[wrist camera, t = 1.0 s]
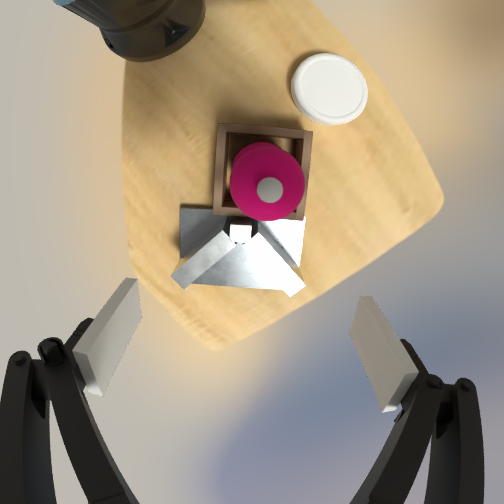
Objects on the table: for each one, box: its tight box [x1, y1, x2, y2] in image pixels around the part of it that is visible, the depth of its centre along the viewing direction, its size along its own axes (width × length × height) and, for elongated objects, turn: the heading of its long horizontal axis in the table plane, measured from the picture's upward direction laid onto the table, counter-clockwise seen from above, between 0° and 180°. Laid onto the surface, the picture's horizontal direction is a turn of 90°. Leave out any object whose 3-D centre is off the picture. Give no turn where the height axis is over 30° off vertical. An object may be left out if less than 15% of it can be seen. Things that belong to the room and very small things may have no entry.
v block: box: [171, 207, 305, 297], centre depth 38 cm, size 17×11×7 cm, turn 86°
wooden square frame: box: [213, 123, 313, 221], centre depth 35 cm, size 11×11×5 cm
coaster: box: [291, 53, 368, 126], centre depth 32 cm, size 10×10×4 cm
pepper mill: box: [230, 142, 305, 221], centre depth 28 cm, size 7×7×20 cm
